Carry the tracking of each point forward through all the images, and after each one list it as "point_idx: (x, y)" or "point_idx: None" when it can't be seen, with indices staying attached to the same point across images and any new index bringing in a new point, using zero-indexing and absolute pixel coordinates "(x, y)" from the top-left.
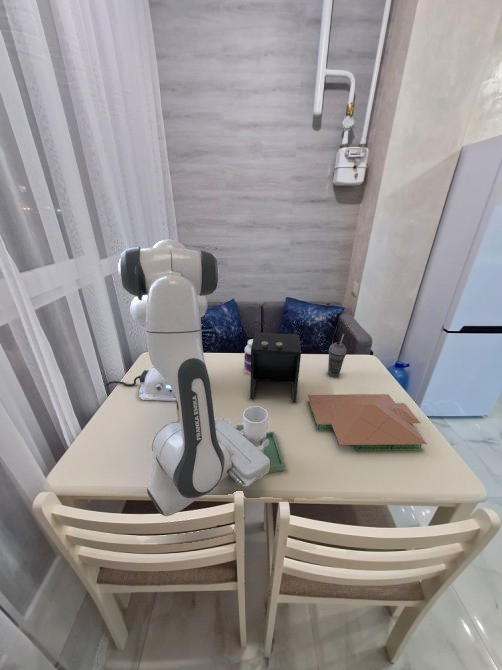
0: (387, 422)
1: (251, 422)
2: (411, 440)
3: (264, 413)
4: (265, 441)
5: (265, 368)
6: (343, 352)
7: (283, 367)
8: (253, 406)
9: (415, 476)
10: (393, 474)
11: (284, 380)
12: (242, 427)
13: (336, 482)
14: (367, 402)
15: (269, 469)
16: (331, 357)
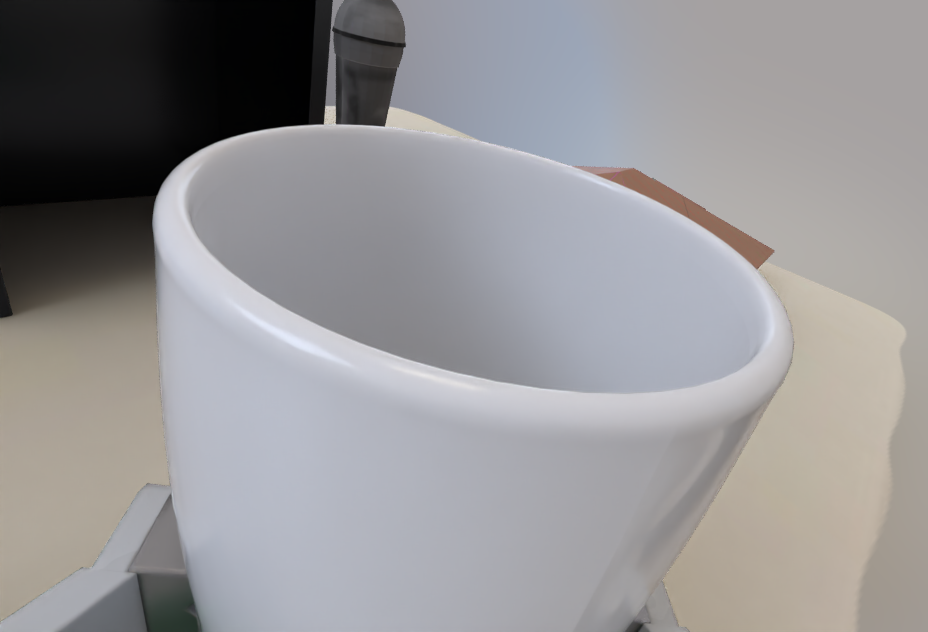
0: (692, 216)
1: (732, 408)
2: (756, 252)
3: (480, 228)
4: (656, 593)
5: (27, 112)
6: (402, 30)
7: (157, 98)
8: (293, 135)
9: (835, 348)
10: (816, 370)
11: None
12: (129, 620)
13: (814, 518)
14: (600, 171)
15: None
16: (358, 59)
